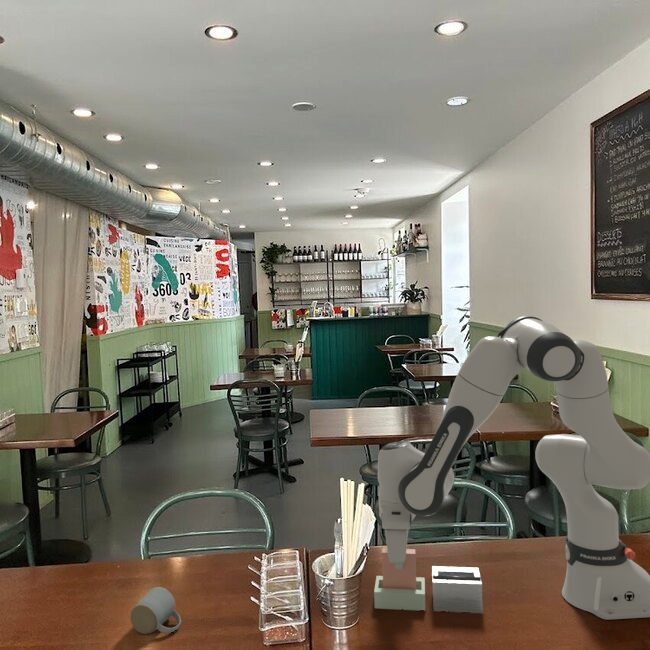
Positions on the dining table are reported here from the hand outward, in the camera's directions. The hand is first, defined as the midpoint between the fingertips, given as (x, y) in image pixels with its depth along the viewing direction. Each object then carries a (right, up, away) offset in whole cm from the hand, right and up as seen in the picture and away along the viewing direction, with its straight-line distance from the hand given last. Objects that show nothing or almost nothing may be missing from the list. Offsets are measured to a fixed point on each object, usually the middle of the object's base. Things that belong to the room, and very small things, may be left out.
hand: (399, 564), depth 139 cm
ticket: (0, -7, 0) cm, 7 cm away
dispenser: (+14, -9, -2) cm, 16 cm away
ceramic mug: (-57, -12, -6) cm, 58 cm away
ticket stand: (0, -9, +1) cm, 9 cm away
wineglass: (-12, -9, +22) cm, 27 cm away
